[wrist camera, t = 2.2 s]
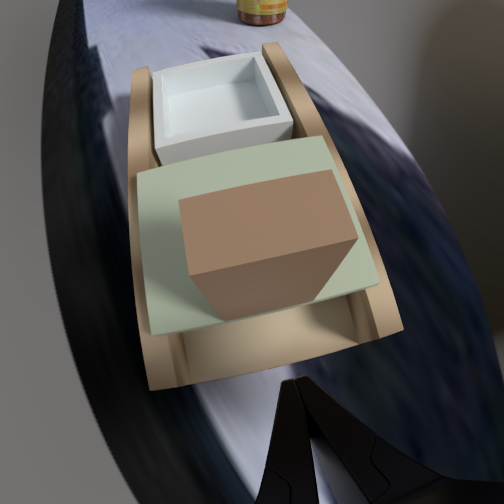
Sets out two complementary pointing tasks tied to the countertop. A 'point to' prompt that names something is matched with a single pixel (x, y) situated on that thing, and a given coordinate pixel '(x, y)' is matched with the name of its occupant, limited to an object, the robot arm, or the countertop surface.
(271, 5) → the sauce bottle
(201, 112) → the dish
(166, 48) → the countertop surface
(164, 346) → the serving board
